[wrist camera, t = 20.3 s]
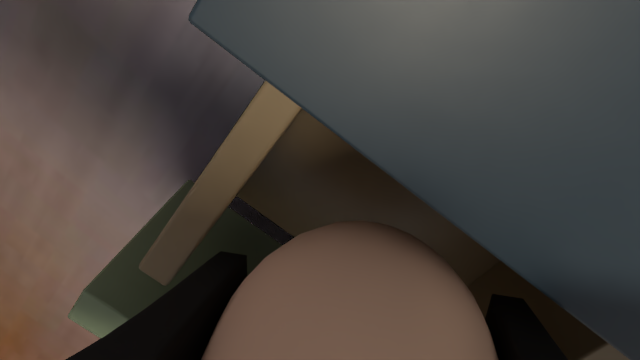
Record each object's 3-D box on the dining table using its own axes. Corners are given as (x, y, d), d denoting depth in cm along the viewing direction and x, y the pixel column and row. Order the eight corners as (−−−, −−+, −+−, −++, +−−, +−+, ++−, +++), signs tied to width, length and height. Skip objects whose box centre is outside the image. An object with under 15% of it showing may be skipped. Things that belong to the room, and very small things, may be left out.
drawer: (329, 415, 20) (299, 575, 15) (122, 278, 19) (12, 404, 14) (722, 123, 12) (940, 255, 7) (413, -155, 11) (409, -239, 6)
